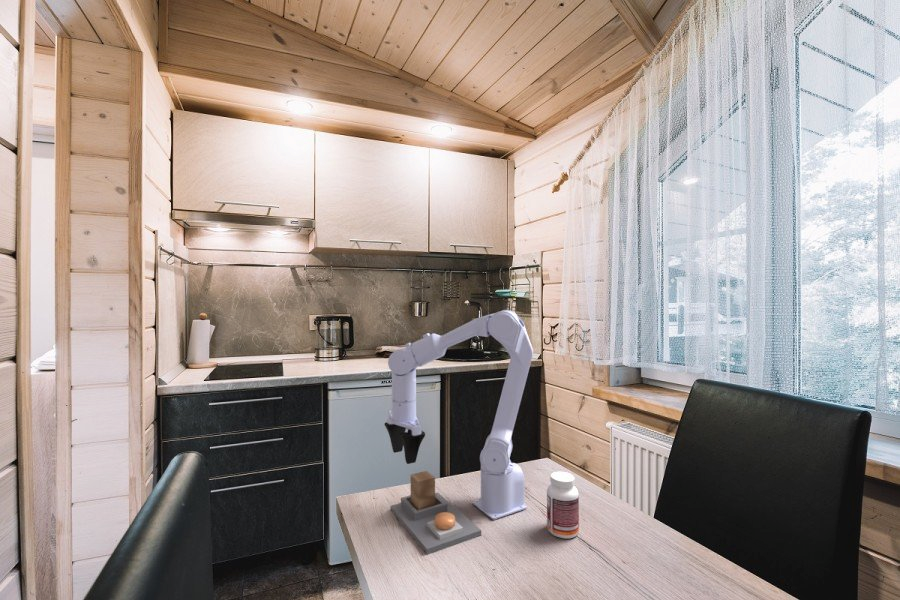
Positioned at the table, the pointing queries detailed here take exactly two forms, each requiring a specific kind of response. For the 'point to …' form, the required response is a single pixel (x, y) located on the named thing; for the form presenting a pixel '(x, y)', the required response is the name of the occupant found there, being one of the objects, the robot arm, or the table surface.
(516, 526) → the table surface
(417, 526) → the loading station
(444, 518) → the button
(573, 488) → the pill bottle
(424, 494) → the block
